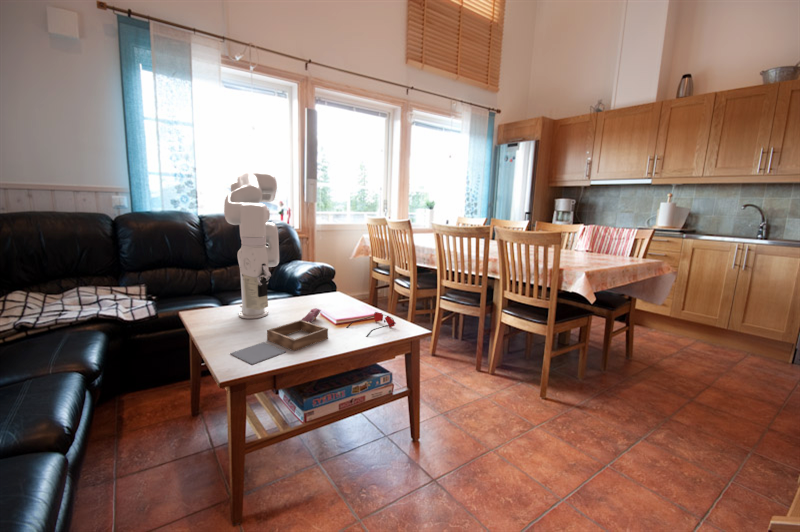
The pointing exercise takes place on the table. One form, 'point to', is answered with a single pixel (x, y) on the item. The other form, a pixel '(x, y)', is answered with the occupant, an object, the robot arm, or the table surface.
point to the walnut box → (315, 336)
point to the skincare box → (253, 294)
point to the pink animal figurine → (311, 315)
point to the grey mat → (257, 353)
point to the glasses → (379, 318)
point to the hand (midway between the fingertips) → (256, 293)
